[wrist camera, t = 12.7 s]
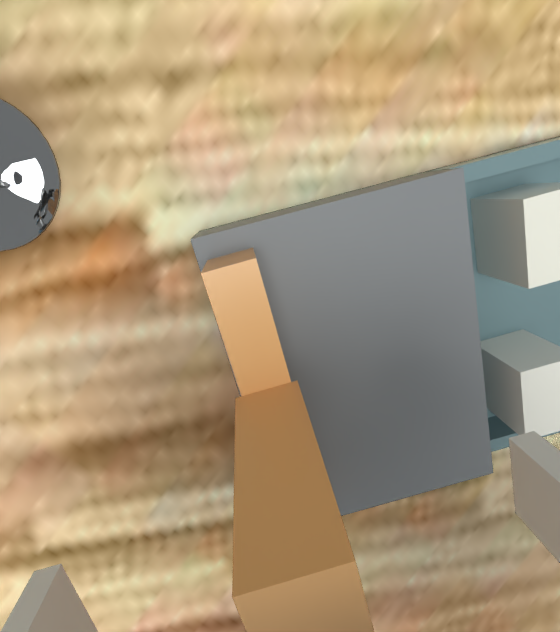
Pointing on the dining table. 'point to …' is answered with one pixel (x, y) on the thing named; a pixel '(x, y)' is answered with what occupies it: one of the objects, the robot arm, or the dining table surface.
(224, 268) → the orange t-shaped block
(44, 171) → the wine glass
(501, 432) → the blue-grey flat tray
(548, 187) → the white rectangular block
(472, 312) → the grey drawer housing
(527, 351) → the white cube block
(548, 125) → the dining table surface
